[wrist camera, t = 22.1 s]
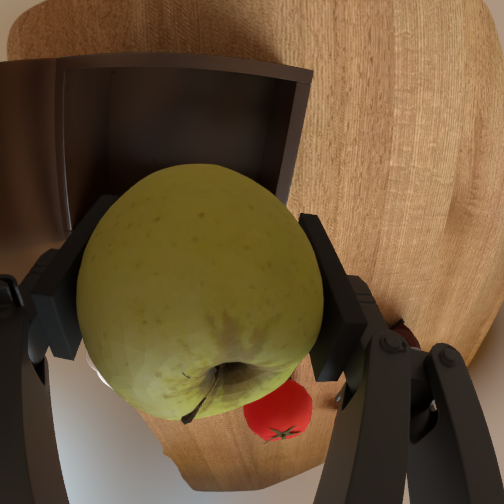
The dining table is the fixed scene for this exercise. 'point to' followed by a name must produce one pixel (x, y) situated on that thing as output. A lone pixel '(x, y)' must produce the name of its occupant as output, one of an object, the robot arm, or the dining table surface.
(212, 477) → the dining table surface
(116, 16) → the dining table surface
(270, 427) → the tomato
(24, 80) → the lid
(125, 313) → the apple
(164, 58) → the chest
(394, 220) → the dining table surface
